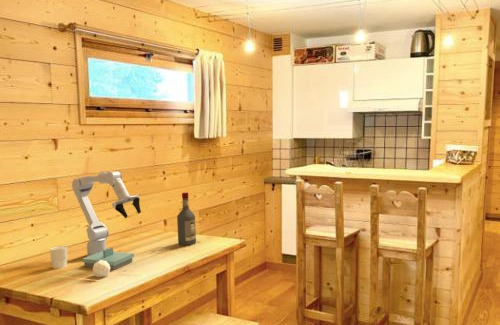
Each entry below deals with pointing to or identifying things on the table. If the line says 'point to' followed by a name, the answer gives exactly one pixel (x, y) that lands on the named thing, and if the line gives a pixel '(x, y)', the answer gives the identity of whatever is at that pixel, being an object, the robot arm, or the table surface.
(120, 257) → the lid
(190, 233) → the liquor
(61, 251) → the white cup
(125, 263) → the tub
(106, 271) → the ball
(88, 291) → the table surface
